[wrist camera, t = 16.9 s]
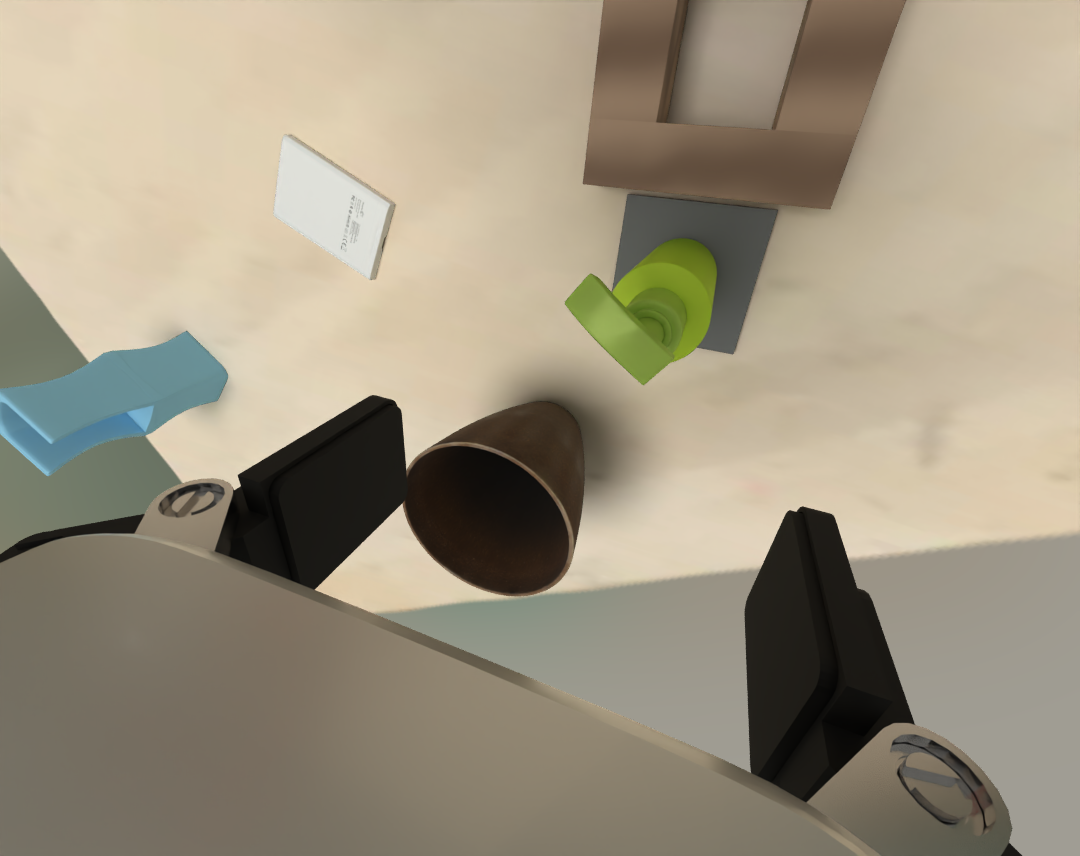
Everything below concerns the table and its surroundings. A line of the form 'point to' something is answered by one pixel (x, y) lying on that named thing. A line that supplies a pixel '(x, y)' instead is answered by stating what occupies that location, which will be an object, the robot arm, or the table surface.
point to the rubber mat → (723, 232)
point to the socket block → (728, 152)
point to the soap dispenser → (651, 308)
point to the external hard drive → (331, 207)
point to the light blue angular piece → (109, 400)
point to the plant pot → (502, 499)
